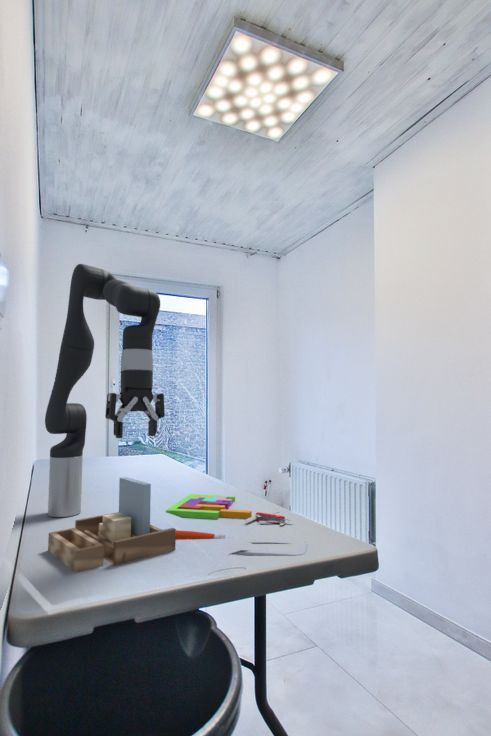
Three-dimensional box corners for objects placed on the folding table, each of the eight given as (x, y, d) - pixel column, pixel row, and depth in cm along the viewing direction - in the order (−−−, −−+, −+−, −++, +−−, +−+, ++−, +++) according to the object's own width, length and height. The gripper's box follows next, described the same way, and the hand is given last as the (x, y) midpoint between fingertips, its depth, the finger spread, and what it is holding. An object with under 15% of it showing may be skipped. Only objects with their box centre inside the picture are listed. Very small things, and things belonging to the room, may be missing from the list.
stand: (44, 556, 94) (45, 533, 94) (76, 549, 98) (77, 527, 99) (71, 579, 82) (72, 552, 82) (106, 569, 86) (107, 544, 87)
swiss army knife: (302, 520, 124) (302, 513, 124) (279, 531, 112) (279, 523, 113) (267, 514, 130) (267, 508, 130) (243, 524, 118) (243, 517, 119)
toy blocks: (165, 518, 127) (248, 522, 122) (165, 510, 127) (248, 514, 122) (190, 500, 149) (261, 504, 144) (190, 494, 149) (261, 497, 144)
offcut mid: (98, 533, 99) (98, 523, 100) (114, 529, 102) (115, 520, 102) (113, 541, 93) (113, 531, 94) (130, 537, 96) (130, 527, 96)
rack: (74, 544, 102) (75, 520, 102) (129, 532, 111) (129, 510, 112) (115, 571, 86) (116, 542, 86) (175, 554, 95) (175, 528, 95)
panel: (118, 536, 104) (119, 477, 105) (125, 534, 105) (126, 476, 106) (142, 549, 95) (143, 484, 96) (149, 547, 96) (150, 483, 97)
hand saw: (306, 534, 105) (312, 549, 95) (306, 548, 105) (312, 564, 95) (174, 528, 105) (165, 542, 95) (173, 541, 105) (165, 556, 95)
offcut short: (102, 525, 98) (102, 515, 98) (118, 522, 101) (119, 512, 101) (113, 531, 94) (114, 520, 94) (130, 527, 96) (131, 517, 96)
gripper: (155, 371, 111) (154, 434, 110) (101, 368, 101) (100, 437, 100) (170, 369, 105) (169, 436, 104) (116, 366, 96) (114, 439, 95)
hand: (135, 437), depth 102 cm, fingers open, 8 cm apart
